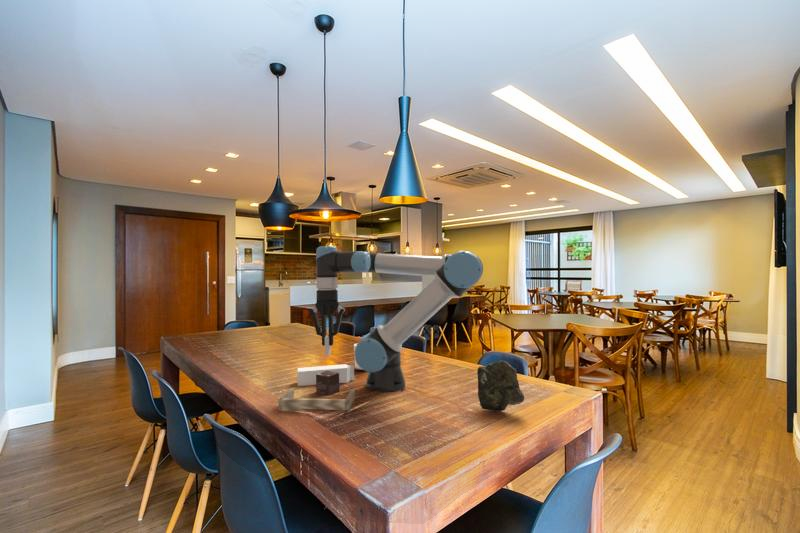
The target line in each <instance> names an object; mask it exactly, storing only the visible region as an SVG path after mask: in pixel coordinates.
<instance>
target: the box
mask: <svg viewBox="0 0 800 533" xmlns="http://www.w3.org/2000/svg"><path fill="white" fill-rule="evenodd" d="M315 388H316V390H315V392H316V394H321V395H324V396H331V395H333V394H336V393H338V392H340V383H339V373H337V372H332V371H325V372H322V373H319V374H316V385H315Z"/></svg>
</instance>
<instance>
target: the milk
mask: <svg viewBox="0 0 800 533" xmlns="http://www.w3.org/2000/svg"><path fill="white" fill-rule="evenodd" d="M325 371H332V372H337V373H339V384H348V383H350V381H355V365H352V364H351V365H349V364H346V363H343V364H333V365H332V364H329V365H320V366H319V365H317V366H306V367H297V387H301V386H316V374H319V373H322V372H325Z"/></svg>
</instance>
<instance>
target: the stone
mask: <svg viewBox="0 0 800 533" xmlns="http://www.w3.org/2000/svg"><path fill="white" fill-rule="evenodd" d="M477 398H478V401H479V406H480V407H481V409H482V410H487V411H494V412H497V411H498V412H499V411H500V412H502V411H505V410H506V408H507V407H508V406H516V405H520V404H521V403H523V402H524V401H525V395H524V393H523V392H522V389H521V388H520V384H519V380H518V372H517V369H516V368H514V366H512V365H511V364H510V363H509V362H508V361H506V360H503V359H502V360H499V361H494V362H492V363H488V364H487V365H483V366H482V365H481V366H479V367H478V368H477Z"/></svg>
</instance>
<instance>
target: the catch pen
mask: <svg viewBox="0 0 800 533" xmlns="http://www.w3.org/2000/svg"><path fill="white" fill-rule="evenodd" d="M355 400H356V388H352V389H351V390H350V391H349V393H348V394H347V396H346V398H295V387H290V388H289V389H288V390H287V391H286V392H285V393H284V394H282V396H281V397H279V398H278V404H277V405H278V411H279V412H298V413H299V412H301V413H303V412H305V413H311V411H310V410H324V411H325V410H330V411H341V414H349V413H350V412H351V410H352V408H351V407H352V405H353V403H354V401H355Z"/></svg>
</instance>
